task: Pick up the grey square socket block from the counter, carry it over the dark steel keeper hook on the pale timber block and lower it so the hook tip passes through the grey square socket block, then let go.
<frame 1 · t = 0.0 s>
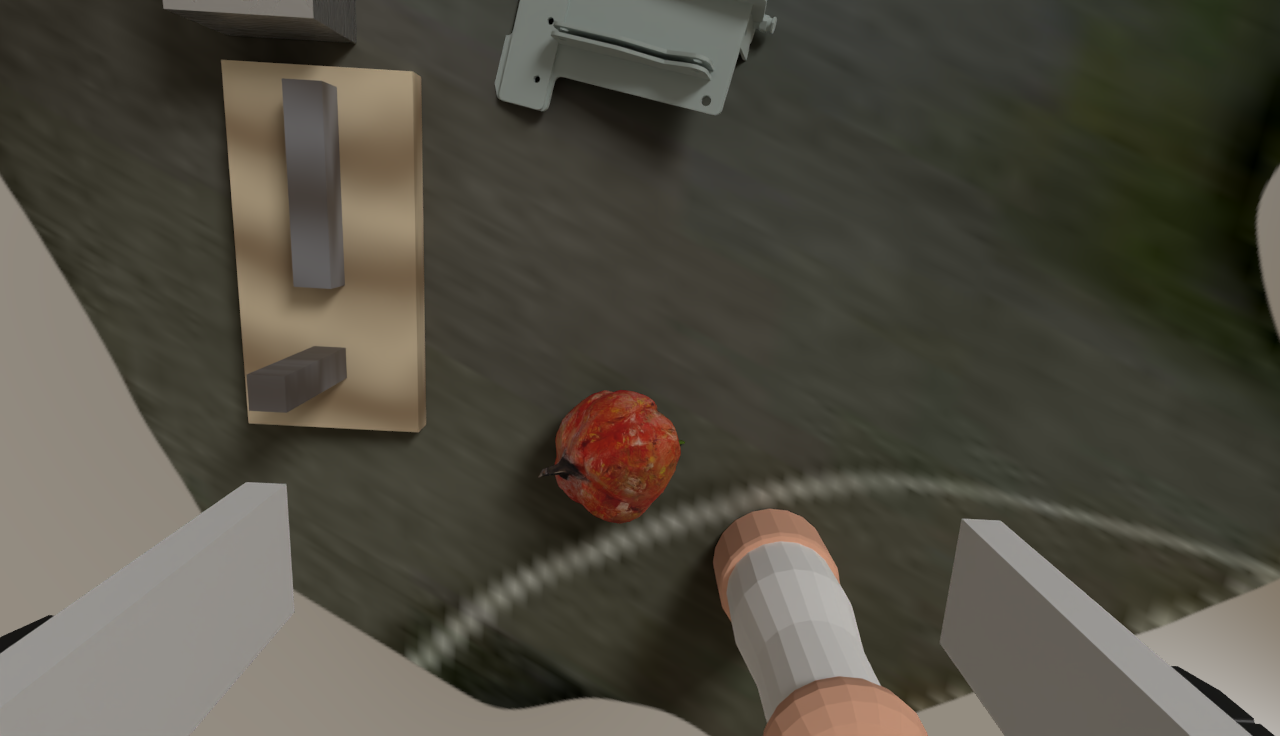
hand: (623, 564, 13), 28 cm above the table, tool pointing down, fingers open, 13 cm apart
pepper shaker: (768, 558, 44), on the table
pomegranate: (621, 433, 42), on the table
keeper: (337, 255, 40), on the table
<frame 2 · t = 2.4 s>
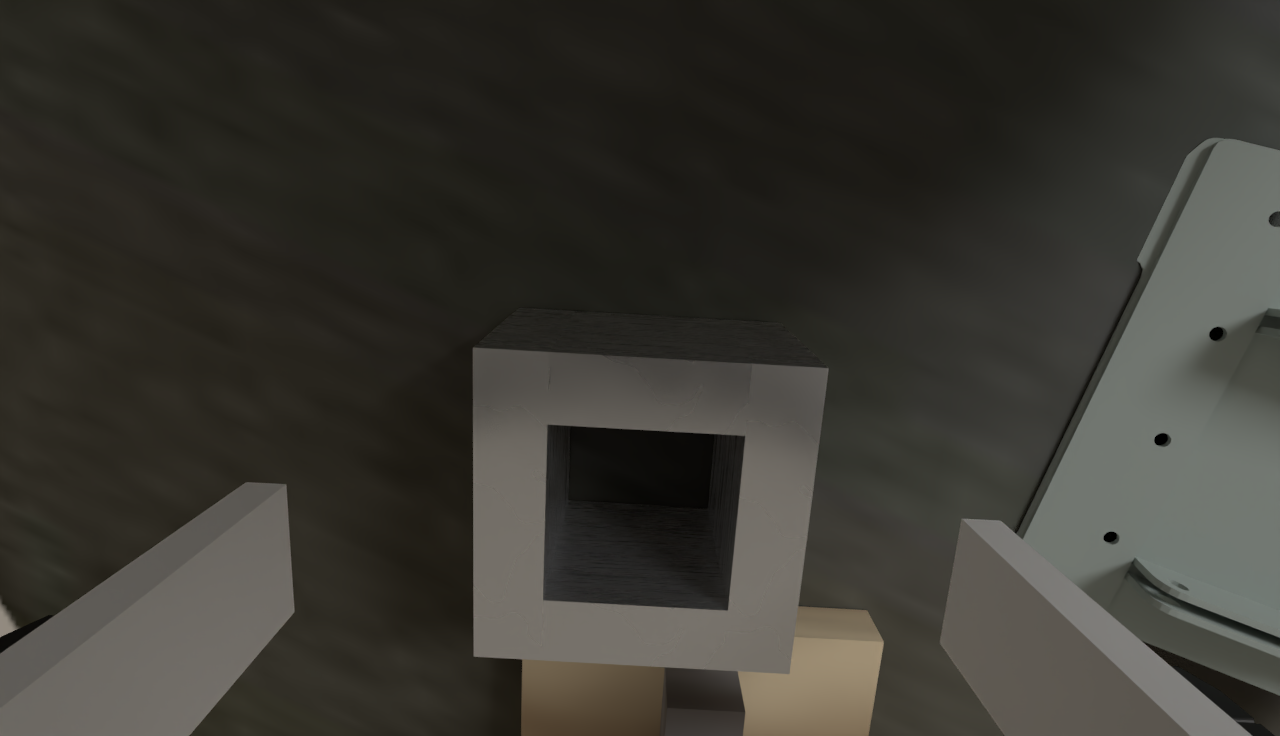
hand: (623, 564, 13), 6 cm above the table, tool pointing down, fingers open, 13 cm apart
grey square socket block: (642, 438, 19), on the table
metal bracket: (1257, 462, 20), on the table
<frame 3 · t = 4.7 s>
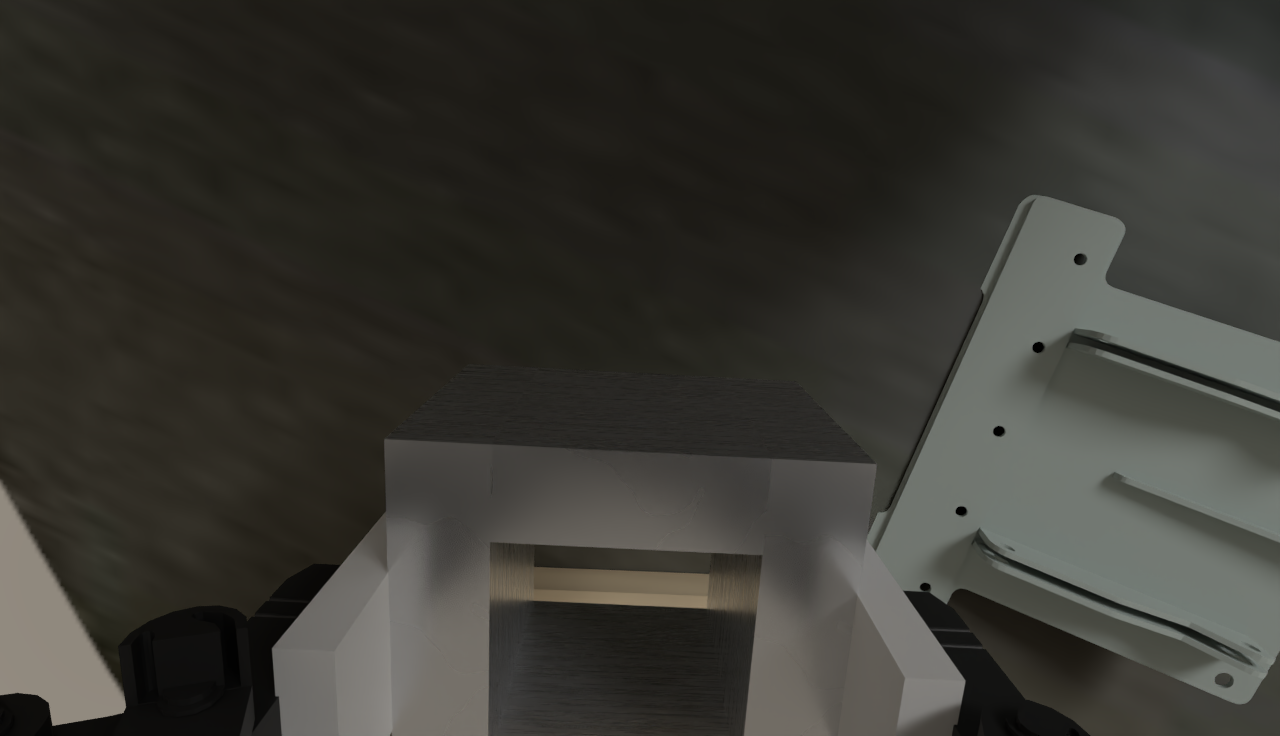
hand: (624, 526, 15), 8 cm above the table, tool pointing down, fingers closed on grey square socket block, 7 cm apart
grey square socket block: (624, 524, 15), point 8 cm above the table, touching gripper
metal bracket: (1082, 456, 24), on the table
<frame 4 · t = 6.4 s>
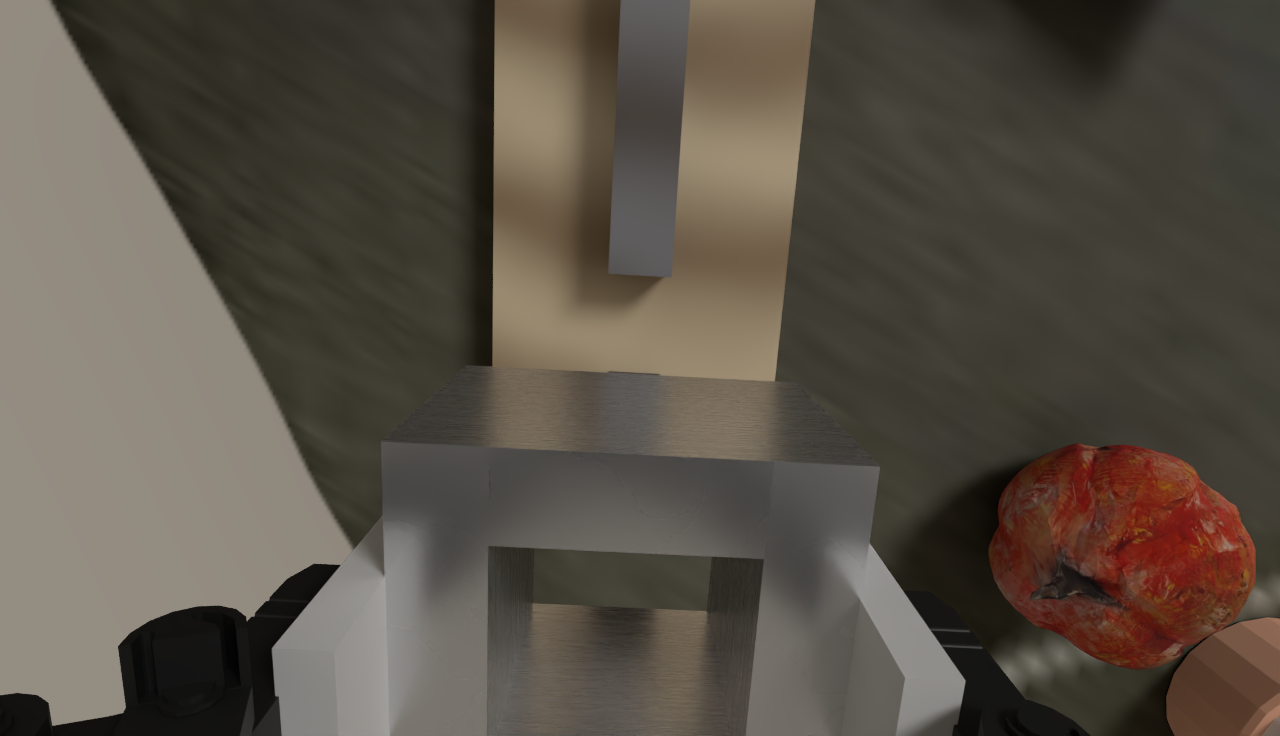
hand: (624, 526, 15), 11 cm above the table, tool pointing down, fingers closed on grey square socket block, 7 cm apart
grey square socket block: (624, 526, 15), point 11 cm above the table, touching gripper
pepper shaker: (1247, 689, 29), on the table
pomegranate: (1052, 504, 27), on the table
keeper: (642, 224, 24), on the table
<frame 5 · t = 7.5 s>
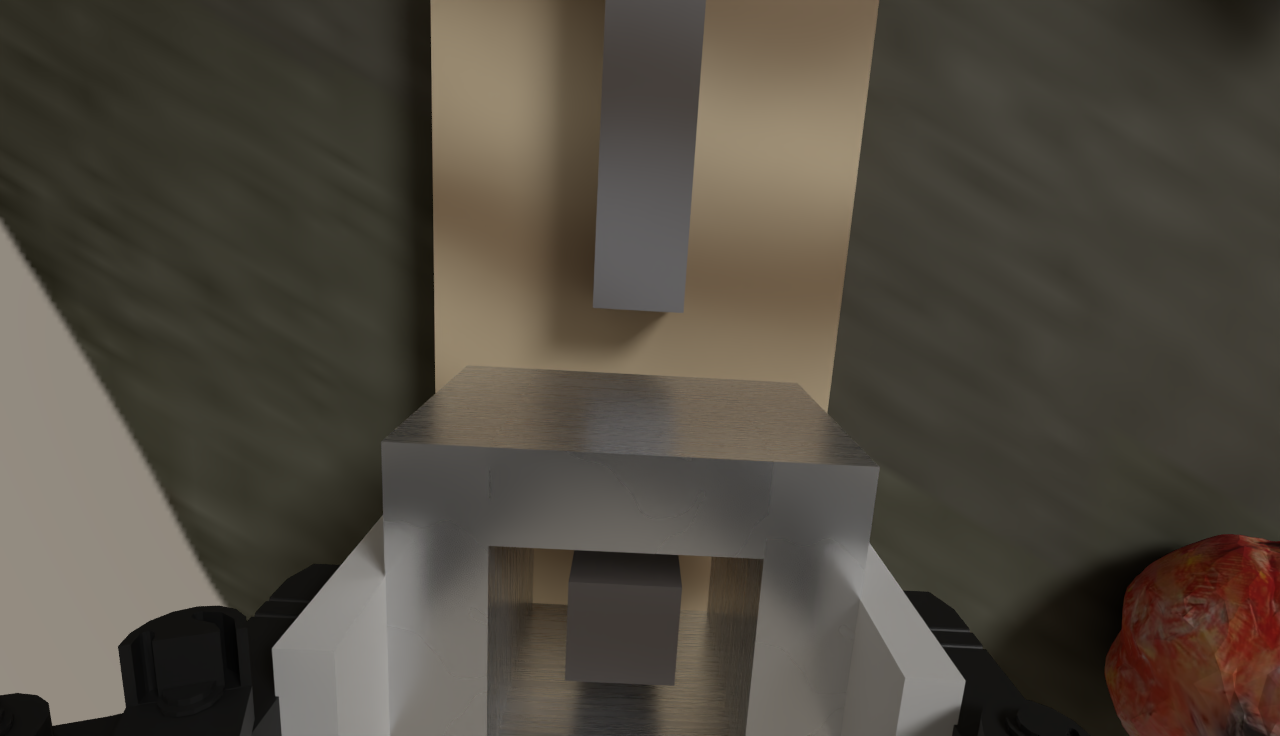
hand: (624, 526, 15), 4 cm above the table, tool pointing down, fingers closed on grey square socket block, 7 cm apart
grey square socket block: (624, 526, 15), point 4 cm above the table, touching gripper
pomegranate: (1180, 601, 21), on the table
keeper: (641, 235, 18), on the table
when the fingers open (2 cm above the table, at t = 8.2 s): grey square socket block stays where it is, resting on keeper.
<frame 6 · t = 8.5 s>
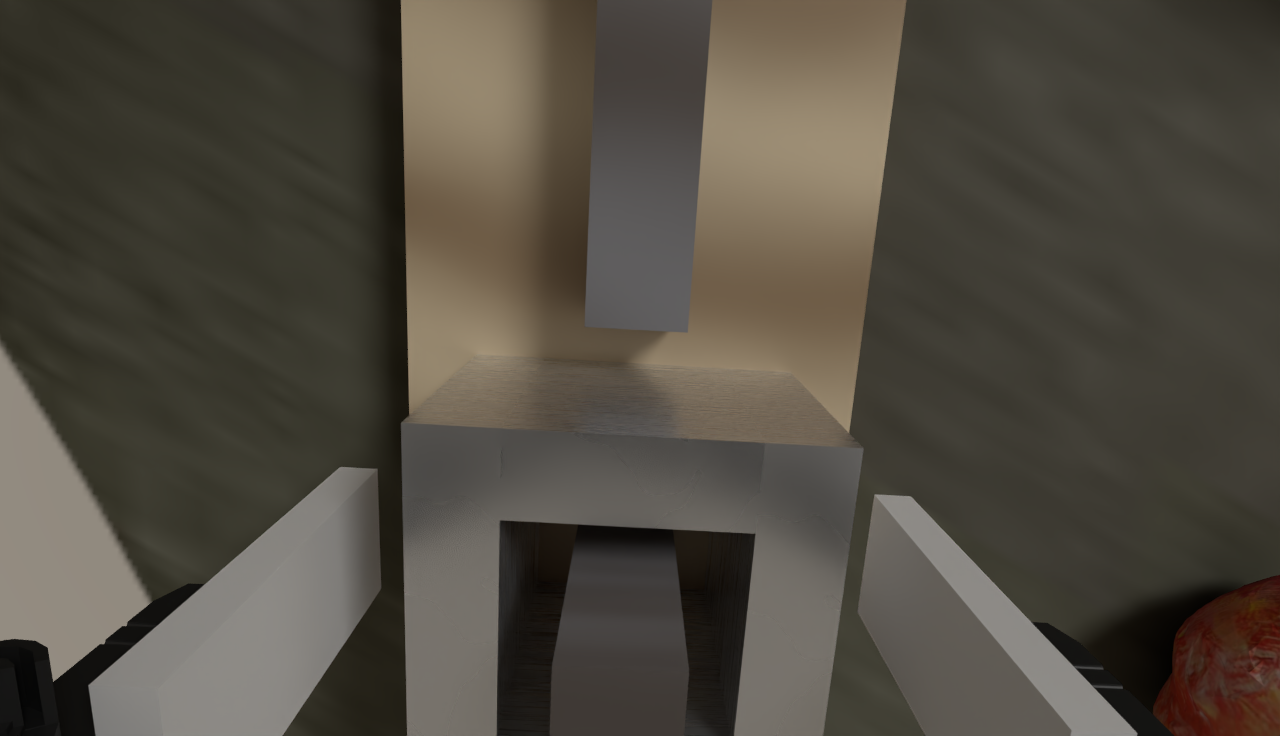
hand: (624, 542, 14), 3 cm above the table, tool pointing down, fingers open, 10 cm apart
grey square socket block: (625, 508, 16), point 1 cm above the table, touching keeper
pomegranate: (1232, 644, 19), on the table
keeper: (639, 243, 16), on the table
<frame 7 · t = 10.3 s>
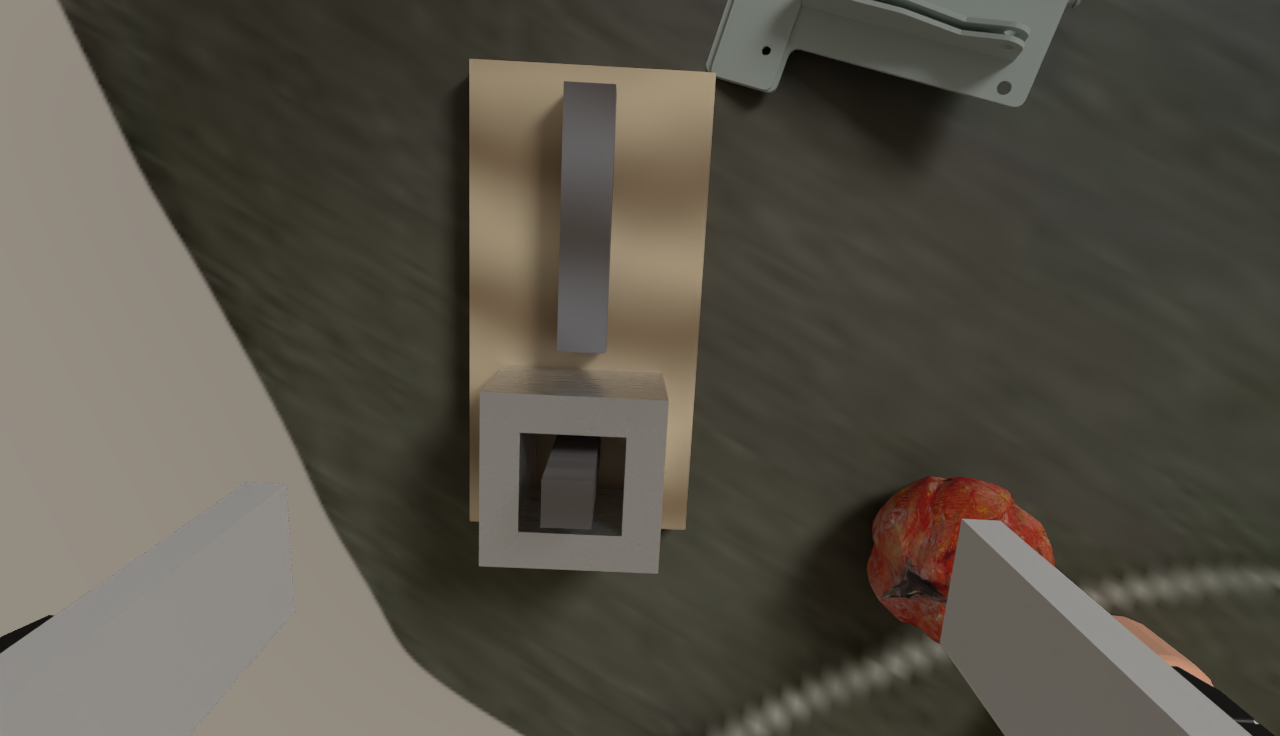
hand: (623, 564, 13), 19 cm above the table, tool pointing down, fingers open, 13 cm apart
grey square socket block: (580, 444, 31), point 1 cm above the table, touching keeper
pepper shaker: (1093, 674, 36), on the table
pomegranate: (923, 524, 34), on the table
keeper: (587, 307, 31), on the table
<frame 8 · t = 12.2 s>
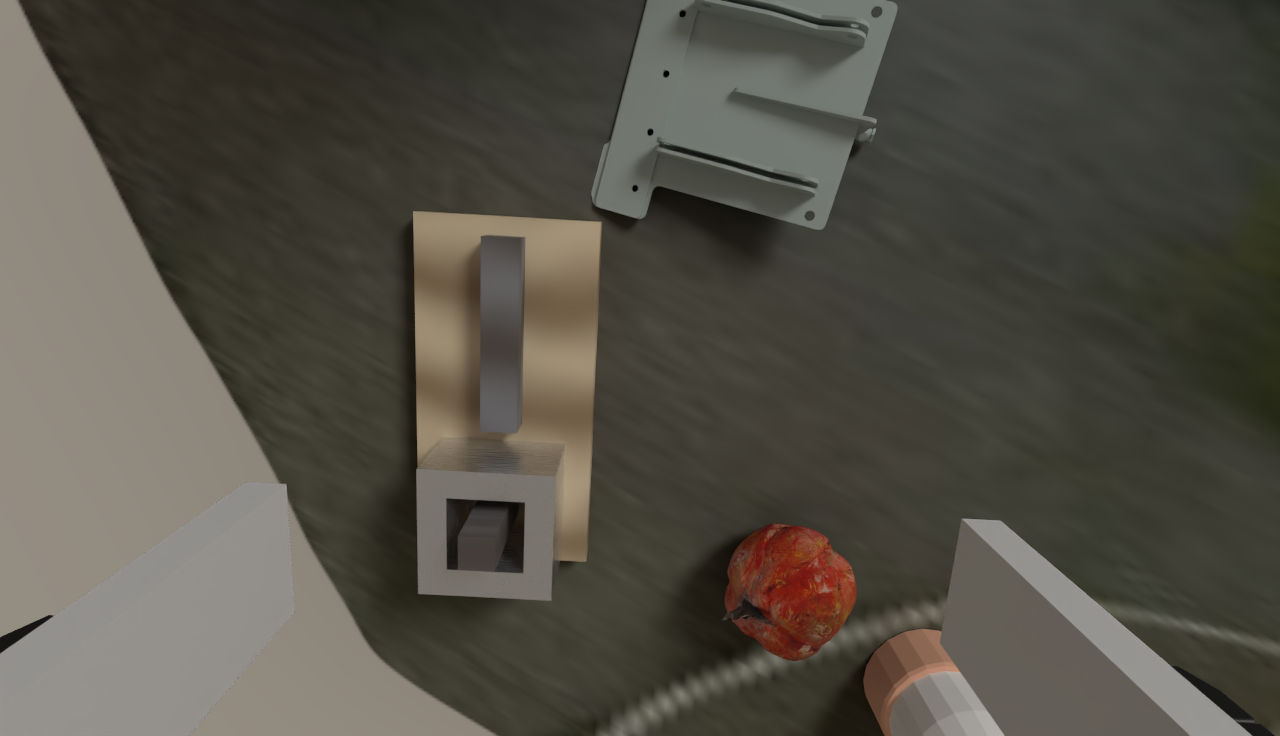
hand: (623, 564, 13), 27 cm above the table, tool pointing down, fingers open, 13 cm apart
grey square socket block: (503, 496, 40), point 1 cm above the table, touching keeper
pepper shaker: (917, 675, 45), on the table
pomegranate: (778, 557, 43), on the table
metal bracket: (739, 101, 37), on the table
keeper: (509, 390, 40), on the table
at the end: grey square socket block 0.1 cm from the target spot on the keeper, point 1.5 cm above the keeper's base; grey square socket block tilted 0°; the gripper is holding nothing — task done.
